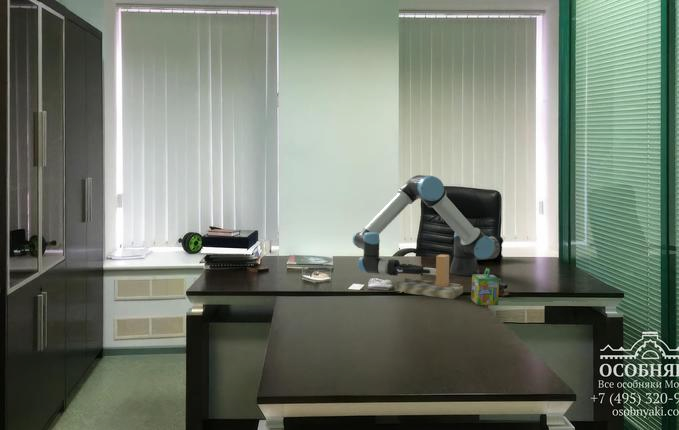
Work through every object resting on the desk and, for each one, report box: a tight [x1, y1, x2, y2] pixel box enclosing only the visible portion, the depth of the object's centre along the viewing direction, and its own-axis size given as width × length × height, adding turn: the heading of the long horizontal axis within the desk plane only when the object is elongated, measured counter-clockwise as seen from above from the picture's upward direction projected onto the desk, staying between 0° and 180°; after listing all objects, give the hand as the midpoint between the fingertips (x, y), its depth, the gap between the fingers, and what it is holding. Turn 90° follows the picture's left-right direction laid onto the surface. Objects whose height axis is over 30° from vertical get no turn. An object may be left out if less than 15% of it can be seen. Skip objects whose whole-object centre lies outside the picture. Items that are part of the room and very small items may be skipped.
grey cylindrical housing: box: [450, 233, 504, 262], centre depth 345 cm, size 15×28×15 cm, turn 115°
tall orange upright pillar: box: [435, 254, 450, 287], centre depth 261 cm, size 4×6×14 cm, turn 151°
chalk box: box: [470, 267, 500, 306], centre depth 245 cm, size 9×9×15 cm
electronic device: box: [498, 278, 510, 298], centre depth 260 cm, size 4×10×8 cm, turn 43°
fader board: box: [394, 278, 464, 300], centre depth 265 cm, size 28×13×4 cm, turn 61°
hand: (437, 272), depth 262 cm, fingers closed
